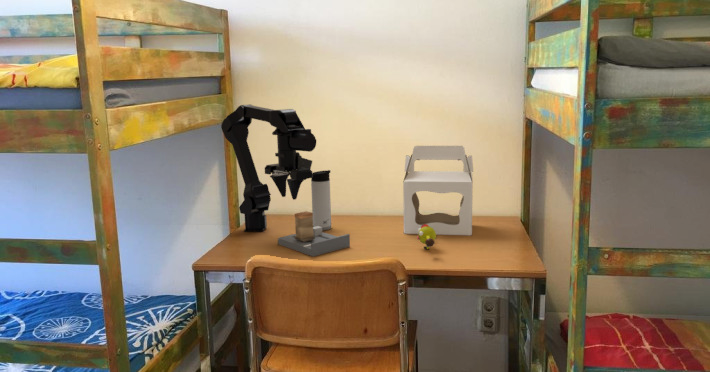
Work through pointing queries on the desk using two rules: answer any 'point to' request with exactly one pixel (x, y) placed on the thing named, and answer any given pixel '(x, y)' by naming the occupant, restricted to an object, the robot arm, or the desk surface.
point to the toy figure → (426, 236)
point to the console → (316, 242)
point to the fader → (304, 226)
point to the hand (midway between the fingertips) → (289, 198)
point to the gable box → (438, 191)
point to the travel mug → (321, 199)
